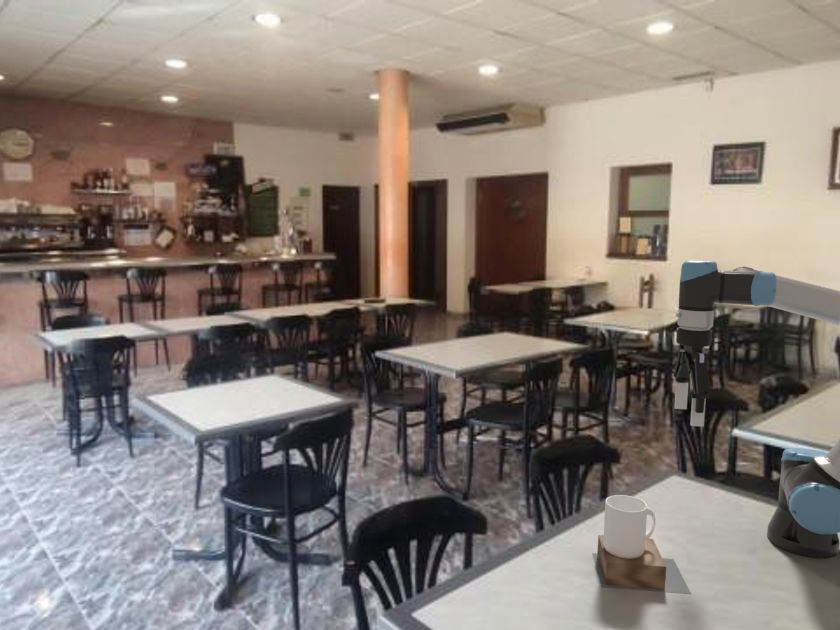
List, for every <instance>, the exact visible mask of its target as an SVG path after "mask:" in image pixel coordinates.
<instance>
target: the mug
mask: <svg viewBox="0 0 840 630" xmlns="http://www.w3.org/2000/svg"><path fill="white" fill-rule="evenodd" d="M604 505H605V507H604V520H603V521H604V523H603V524H604V525H603V536H604V539H603V544H604V547H605V549H606V550H607V551H608V552H609V553H610V554H612V555H614V556H616V557H620V558H625V559H634V558H638V557H640V556H641V555H642V554H643V553H644V550H645V541H646V540H647V539H651V537H652V535H653V532H654V530H655V525H656V516H655V513H654V511H653V510H652V509H651V508H649V507H648V504H647V503H646V502H645V501H644V500H642V499H641V498H638V497H635V496H631V495H626V494H615V495H611V496H608V497H606V499H605V504H604ZM648 515H649V516H650V517H651V519H652V526H651V528H650V529H649V530H648V531H647V518H648V517H647V516H648Z"/></svg>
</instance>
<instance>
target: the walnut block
mask: <svg viewBox="0 0 840 630" xmlns="http://www.w3.org/2000/svg"><path fill="white" fill-rule="evenodd" d="M603 539H604V534H603V535H601V534H600V535H599V534H598V538H597V553H596V554H597V556H598V560H599V563H600V567H601V570H602V574H603V577H604V581H605V584H606V585H617V586H630V587H643V588H656V589H665V579H666V565H665V563H664V561H663V559H662V558H663V557H662V554H661V553H660V551H659V549H658V546H657V544H656V542H655V540H654V538H649V539H647V540H646V541H645V550H644V553H643V554H642V555H641V556H640V557H638V558H634V559H625V558H620V557H616V556H614V555H612V554H610V553H609V552H608V551H607V550H606V549H605V547H604V544H603Z"/></svg>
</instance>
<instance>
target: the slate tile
mask: <svg viewBox="0 0 840 630" xmlns="http://www.w3.org/2000/svg"><path fill="white" fill-rule="evenodd" d="M591 554H592V557H593V558H592V559H593V560H594V566H595V569H596V572H597V576H598V580H599V583H600V587H601V588H605V589H606V588H607V589H608V588H609V589H618V590H619V589H622V590H632V591H633V590H634V591H635V590H636V591H645V592H646V591H647V592H659V593H673V594H684V595H685V594H686V595H692V592H691V591H690V588H689V587H688V584H687V583H686V581H685V579H684V577H683V574H682V573H681V571H680V569H679V567H678V564H676V561H675V559H674V558H664V557H662V559H663V561H664V563H665V565H666V579H665V589H656V588H643V587H630V586H617V585H606V584H605V581H604V577H603V574H602V570H601V567H600V563H599V560H598V556H597V553H595V552H593V553H591Z"/></svg>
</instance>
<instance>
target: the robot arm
mask: <svg viewBox="0 0 840 630" xmlns="http://www.w3.org/2000/svg"><path fill="white" fill-rule="evenodd" d="M680 271H681V272H680V277H679V288H678V289H679V290H678V291H679V294H678V310H677V311H678V312H676V313H675V317H676V318H677V325H678V326H679V327H677V328H676V338H675V339H676V340H675V342H676V344H679V345H678V354H677V359H676V362H675V367H674V372H673V377H674V380H675V389H674V390H675V392H674V404H673V406H674V407H673V409H675V410H687V409H688V395H689V394H688V393H689V392H688V391H689V383H691V384H692V392H693V394H691V395H690V399H691V407H690V408H691V410H690V426H691V427H705V415H706V413H705V412H706V400H707V399H710V397H711V392H710V381H709V379H710V378H709V367H708V363H709V361H708V360H709V358H708V357H709V355H708V353H704V352H703V348H705V347H706V348H707V347H710V346H711V345H712V341H713V339H712V338H713V337H712V336H713V331H712V329H711V328H713V327H714V318H715V317H714V314H715V304H730V305H742V306H743V305H744V306H755V307H760V306H765V307H766V306H767V307H771V308H774V309H777V310H781V311H785V312H789V313H793V314H795V315H799V316H803V317H807V318H810V319H815V320H818V321H822V322H826V323H828V324H832V325H836V326H840V290H837V289H833V288H830V287H824V286H821V285H817V284H813V283H809V282H805V281H802V280H797V279H793V278H789V277H784V276H781V275H778V274H775V273H774V272H772V271H771V272H770V271H763V270H755V269H754V268H751V267H750V266H749V267H747V266H739V267H736V268H734V269H732V270H722V269H719V267H718V263H717V262H716V261H713V260H694V259H693V260H692V259H691V260H685V261H684V262H683V263H682V264H681V269H680ZM690 378H691V380H690ZM780 461H781V469H780V476H779V477H780V479H779V488H778V489H779V490H778V500H777V507H776V509H775V511H774V513H773V515H772V517H771V519H770V521H769V522H768V525H767V531H766V532H767V533H766V536H767V538H768V540H769V541H770V542H771V543H773V544H774V545H775V546H777V547H779V548H781V549H783V550H784V551H785V550H786V551H787V552H789V553H794V554H797V555H800V556H804V557H810V558H825V559H826V558H832V557H835V556H837V555H838V554H839V553H840V552H839V551H840V537H839V534H840V439H839V440H838V441H837V442H836V443H835V444H834V445H833V446H832V448H831V449H830V450H829V451H828V452H826V451H822V450H816V449H812V448H811V449H810V448H803V447H802V448H799V447H789V448H786V449H785V450H783V452H782V457H781V459H780ZM838 533H839V534H838Z"/></svg>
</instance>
